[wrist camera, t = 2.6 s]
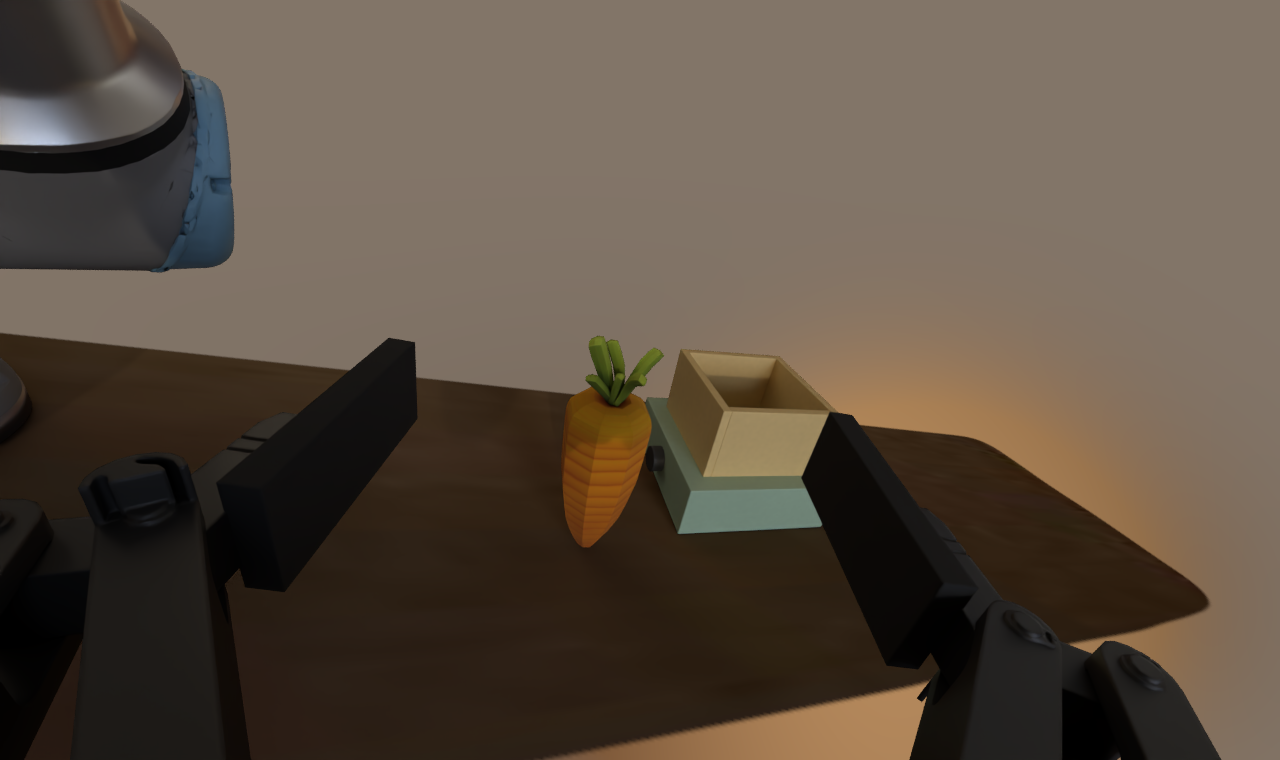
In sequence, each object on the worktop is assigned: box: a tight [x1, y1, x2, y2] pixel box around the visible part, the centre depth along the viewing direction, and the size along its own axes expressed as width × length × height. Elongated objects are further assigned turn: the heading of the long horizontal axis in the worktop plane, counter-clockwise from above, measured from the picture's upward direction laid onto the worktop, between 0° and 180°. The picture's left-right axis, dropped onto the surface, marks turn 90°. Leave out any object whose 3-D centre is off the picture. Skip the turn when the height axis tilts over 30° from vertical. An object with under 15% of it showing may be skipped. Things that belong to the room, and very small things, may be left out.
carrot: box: [561, 336, 664, 547], centre depth 28 cm, size 5×5×15 cm
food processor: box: [645, 349, 838, 534], centre depth 39 cm, size 13×12×10 cm
